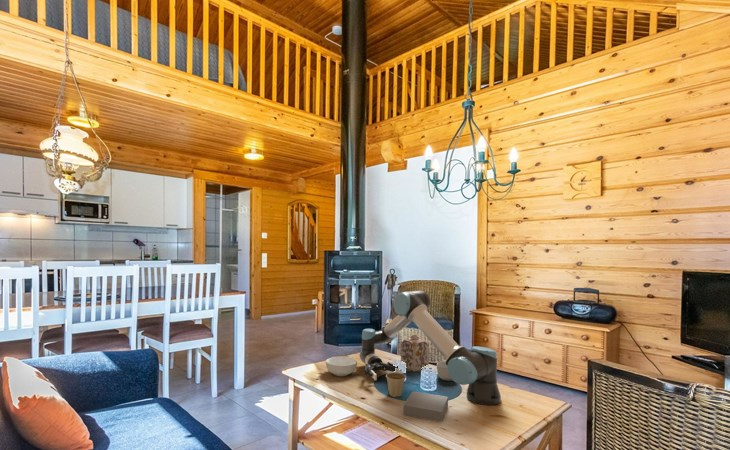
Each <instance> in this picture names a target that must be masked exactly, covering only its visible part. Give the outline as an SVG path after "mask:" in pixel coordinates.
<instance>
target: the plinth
mask: <svg viewBox="0 0 730 450" xmlns="http://www.w3.org/2000/svg"><path fill="white" fill-rule="evenodd" d="M448 407H449V397H448V396H445V395H439V394H434V393H427V392H421V391H420V392H419V391H414V390H412V391H411V393H410V395H409V396H408V397H407V399H406V400H405V402H404V404H403V406H402V409H403V411H402V412H403V413H402V415H403V416H408V417H414V418H417V419H424V420H429V421H434V422H441V423H442V422H443V419H444V417H445V415H446V412H447V409H448Z"/></svg>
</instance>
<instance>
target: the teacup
mask: <svg viewBox="0 0 730 450" xmlns="http://www.w3.org/2000/svg"><path fill="white" fill-rule="evenodd" d="M445 361H446V359H443V360H441V361H438V362H437V363H436V371H437V375H438V377H439V378H440V379H441V380H442V381H446V382H452V381H453V380H452V379H451V377H450V376H449V374H448V370H447V365H446V364H445Z"/></svg>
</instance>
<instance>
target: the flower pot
mask: <svg viewBox="0 0 730 450" xmlns="http://www.w3.org/2000/svg"><path fill="white" fill-rule="evenodd" d="M385 378H386V380H387V388H388V389H387V390H388V395H390V396H391V397H393V398H394V397H395V398H396V397H401V396H403V389H404V383H405V380H406V378H407V377H406V374H404V373H402V374H401V373H396V372H390V373H386V375H385Z"/></svg>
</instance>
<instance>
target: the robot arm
mask: <svg viewBox="0 0 730 450" xmlns="http://www.w3.org/2000/svg"><path fill="white" fill-rule="evenodd" d="M431 305H432V300H431V297H430V295H429V294H428V293H427V292H425V291H424V290H421V289H420V290H419V289H418V290H411V291H410V290H407V291H402V292H398V293H397V294H396V295H395V297H394V300H393V309H394V312H395V313H396V316H395V317H394V318H393V319H392V320H391V321H390V322H389V323H388V324H386V325H385V326H384V327H383V328H382V329H380V330H375V329H373V328H365V329H363V330H362V332H361V333H362V334H361V350H360V352H359V358H360V360H361V363H364V367H365V368H364V371H363V376H367V377H368V378H370V377H371V378H372V379H373V380H374V381H377V377H378V376H377V373H375V372H379V371H383V372H386V371H388V372H391V373H394V372H393V371H395V368H396V372H395V373H401V374H403V371H402V369H401V370H399V369H398V366H399V365H398V366H397V367H395V366H393V364H394V363H391V362H389V361H388V362H387V363H385V362H383V360H382V359H381V358H380V357H379V356H378V355H376V351H375V350H376V346H377V345H381V344H382V345H383V344H386V343H387V344H388V343H390V342H392V341H394V339H395V337H396V335H398V334H399V333H400V332H401V331H402V330H403V329H405V328H406V327H407V326H408V325H409V324H410V323H414V324H415V325H416V327H417V328H418V329H419V330H420V331H421V332H422V333H423V335H424V336H425V337H426V338H427V340H429V341H430V343H431V344H432V345H433V346H434V348H436V349H437V351H438V352H439V353H440V354H441V355H442V357H443V358H444V360H446V361H445V364H446V365H447V370H448V374H449V376H450V377H451V379H452V381H453V382H454V383H456V384H458V385H461V386H466V385H468V386H467V389H466V398H467V399H468V401H471V402H473V403H475V404H479V405H483V406H495V405H498V404H499V403H501V400H502V399H501V398H502V396H501V392H500V389H499V386H498V380H497V379H498V378H497V377H498V356H497V351H496V350H494V349H493V348H489V347H485V346H478V345H477V346H476V345H475V346H471V347H470V351H469V350H468V349H467V348H466V347H465V346H463V345H459V344H458V343H457V342H456V341H455V340H454V339H453V338H452V336H451V335H450V334H449V333H448V332H447V331H446V330H445V329H444V327H442V326H441V325H440V323H439V322H437V320H436V319H435V318H434V317H433V316H432V315H431V314H430V313H429V312H428V310H429V309H430V308H431Z"/></svg>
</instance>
